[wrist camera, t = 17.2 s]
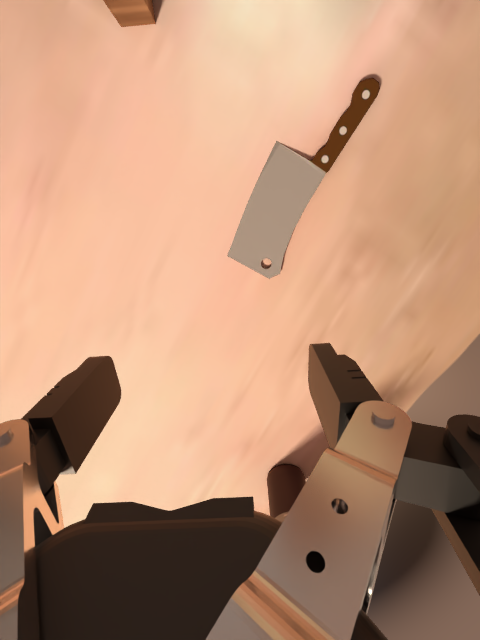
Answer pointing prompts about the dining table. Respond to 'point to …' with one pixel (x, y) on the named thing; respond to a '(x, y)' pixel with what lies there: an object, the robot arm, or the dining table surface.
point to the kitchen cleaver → (291, 190)
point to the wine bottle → (284, 489)
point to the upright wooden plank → (132, 12)
